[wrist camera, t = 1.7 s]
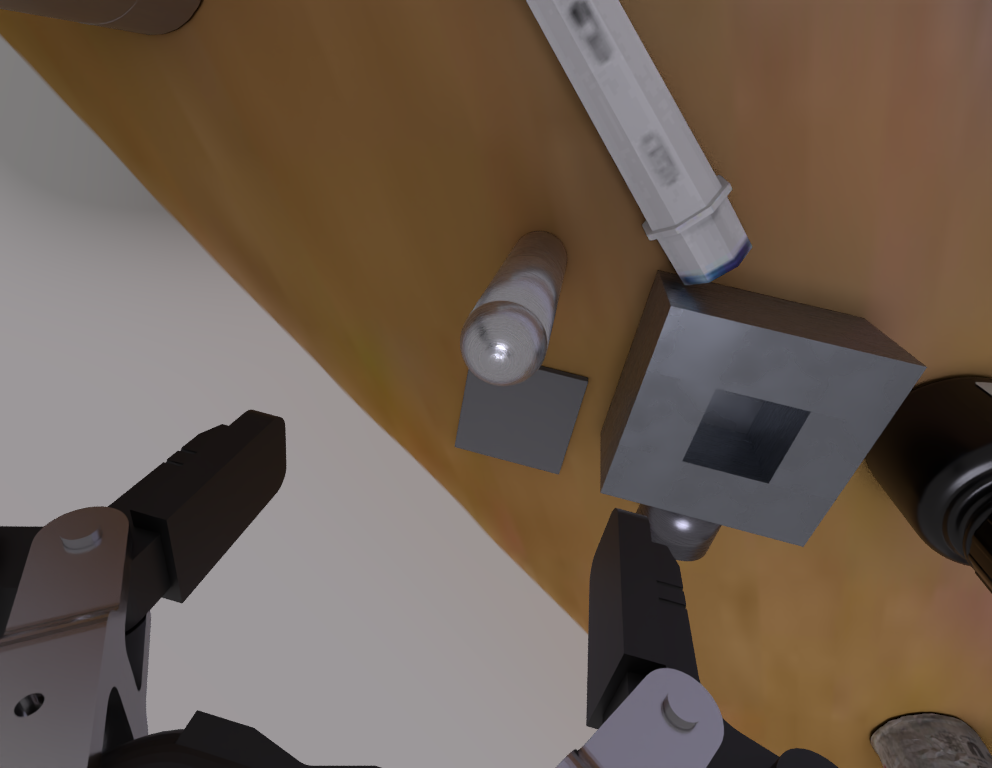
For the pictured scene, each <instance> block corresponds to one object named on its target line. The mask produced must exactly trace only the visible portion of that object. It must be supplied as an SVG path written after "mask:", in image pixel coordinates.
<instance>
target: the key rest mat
mask: <svg viewBox="0 0 992 768" xmlns="http://www.w3.org/2000/svg"><path fill="white" fill-rule="evenodd" d="M587 384H588V378H587V377H583V376H579V375H575V374H571V373H567V372H563V371H559V370H555V369H551V368H547V367H543V366H540V368H539V369H538V370H537V371H536V372H535V373H534V375H532V376H531V377H530V378H528V379H527V380H525V381H523V382H521V383H519V384H515V385H511V386H497V385H492V384H489V383H486V382H484V381H482V380H481V379H479V378H478V377H477V376H475V375H474V374H473V373H472V372H471V371H470V369H469V370H468V375H467V381H466V386H465V392H464V398H463V403H462V409H461V414H460V420H459V425H458V431H457V437H456V442H455V447H457V448H461V449H465V450H469V451H472V452H476V453H480V454H484V455H487V456H491V457H495V458H499V459H502V460H506V461H510V462H514V463H518V464H521V465H525V466H529V467H533V468H536V469H540V470H544V471H548V472H551V473H555V474H559V472H560V469H561V466H562V463H563V459H564V456H565V453H566V450H567V447H568V444H569V440H570V437H571V434H572V431H573V428H574V425H575V422H576V418H577V415H578V412H579V409H580V406H581V403H582V399H583V396H584V393H585V390H586V387H587Z"/></svg>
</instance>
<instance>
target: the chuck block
mask: <svg viewBox="0 0 992 768" xmlns="http://www.w3.org/2000/svg"><path fill="white" fill-rule="evenodd" d="M926 368H927V367H926V366H925V365H924V364H922V363H921V362H920V361H918V360H917V359H916V358H915V357H913V356H912V355H911V354H909V353H908V352H907V351H906V350H904V349H903V348H902V347H900V346H899V345H898V344H897V343H895V342H894V341H893V340H891V339H890V338H889V337H888V336H886V335H885V334H884V333H882V332H881V331H880V330H879V329H877V328H876V327H875V326H873V325H872V324H871V323H870V322H868V321H867V320H866V319H864V318H861V317H857V316H852V315H848V314H844V313H839V312H835V311H831V310H827V309H822V308H818V307H814V306H809V305H805V304H801V303H797V302H792V301H788V300H784V299H779V298H775V297H771V296H767V295H762V294H758V293H754V292H749V291H745V290H741V289H737V288H732V287H728V286H724V285H719V284H715V283H711V282H709V283H702V284H693V285H684V283H683V282H682V280H681V278H680V277H679V275H677V274H672V273H668V272H664V271H660V270H658V271H657V274H656V277H655V280H654V283H653V286H652V289H651V291H650V294H649V297H648V300H647V303H646V306H645V308H644V311H643V314H642V317H641V320H640V323H639V326H638V328H637V331H636V334H635V337H634V340H633V343H632V345H631V348H630V351H629V354H628V357H627V360H626V363H625V365H624V368H623V371H622V374H621V377H620V380H619V382H618V385H617V388H616V391H615V394H614V397H613V399H612V402H611V405H610V408H609V411H608V414H607V417H606V419H605V422H604V425H603V428H602V431H601V487H600V493H603V494H607V495H611V496H615V497H618V498H622V499H626V500H630V501H633V502H637V503H640V505H639V507H638V510H637V512H636V514H640V515H644V516H647V517H648V518H649V522H650V530H651V539H652V542H655V543H659V544H662V545H666V546H667V547H668V548H669V550H670V552H671V553H672V555H673V557H674V558H675V559H676V560H681V561H694V560H698V559H700V558H702V557H703V556H704V555H705V554H706V552H707V551H708V549H709V547H710V545H711V543H712V542H713V540H714V538H715V536H716V534H717V533H718V531H719V529H720V527H721V525H724V526H727V527H731V528H735V529H739V530H742V531H746V532H750V533H754V534H757V535H761V536H765V537H769V538H772V539H776V540H780V541H784V542H787V543H791V544H795V545H799V546H802V547H804V545H805V544H806V542H807V541H808V539H809V538H810V536H811V535H812V533H813V532H814V531H815V529H816V528H817V526H818V525H819V523H820V522H821V520H822V519H823V517H824V516H825V515H826V513H827V512H828V510H829V509H830V507H831V506H832V504H833V503H834V501H835V500H836V499H837V497H838V496H839V494H840V493H841V491H842V490H843V488H844V487H845V486H846V484H847V483H848V481H849V480H850V478H851V477H852V475H853V474H854V472H855V471H856V470H857V468H858V467H859V465H860V464H861V462H862V461H863V459H864V458H865V456H866V455H867V454H868V452H869V451H870V449H871V448H872V446H873V445H874V443H875V442H876V440H877V439H878V438H879V436H880V435H881V433H882V432H883V430H884V429H885V427H886V426H887V424H888V423H889V422H890V420H891V419H892V417H893V416H894V414H895V413H896V411H897V410H898V408H899V407H900V406H901V404H902V403H903V401H904V400H905V398H906V397H907V395H908V394H909V393H910V391H911V390H912V388H913V387H914V385H915V384H916V382H917V381H918V379H919V378H920V377H921V375H922V374H923V372H924V371H925V369H926Z"/></svg>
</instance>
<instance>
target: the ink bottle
mask: <svg viewBox="0 0 992 768" xmlns="http://www.w3.org/2000/svg"><path fill="white" fill-rule="evenodd" d="M866 460H867V464H868V466H869V469H870V471H871V472H872V474H873V476H874V477H875V478H876V480H877V481H878V482H879V484H880V485H881V486H882V488H883V489H884V490H885V492H886V493H887V494H888V496H889V497H890V498H891V500H892V501H893V502H894V504H895V505H896V506H897V508H898V509H899V510H900V512H901V513H902V514H903V516H904V517H905V518H906V520H907V521H908V522H909V524H910V525H911V526H912V528H913V529H914V530H915V532H916V533H917V534H918V535H919V537H920V538H921V539H922V540H923V541H924V542H925V543H926V544H927V545H928V546H929V547H930V548H931V549H933V550H934V551H935V552H937V553H938V554H940V555H942V556H944V557H945V558H947V559H950V560H952V561H954V562H957V563H960V564H963V565H967V566H971V567H972V568H973V569H974V570H975V574H976V575H977V576H978V577H979V579H980V580H981V581H982V582H983V583H984V585H985V586H986V587H987V588H988V590H989V591H990V592H991V593H992V379H991V378H984V377H961V378H953V379H947V380H943V381H938V382H935V383H931V384H928V385H926V386H923V387H920V388H918V389H916V390H913V391H911V392H910V393H909V394H908V395H907V397H906V398H905V400H904V401H903V403H902V404H901V406H900V407H899V408H898V410H897V411H896V413H895V414H894V416H893V417H892V419H891V420H890V422H889V423H888V424H887V426H886V427H885V429H884V430H883V432H882V433H881V435H880V436H879V438H878V439H877V440H876V442H875V443H874V445H873V446H872V448H871V449H870V451H869V452H868V454H867V455H866Z"/></svg>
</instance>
